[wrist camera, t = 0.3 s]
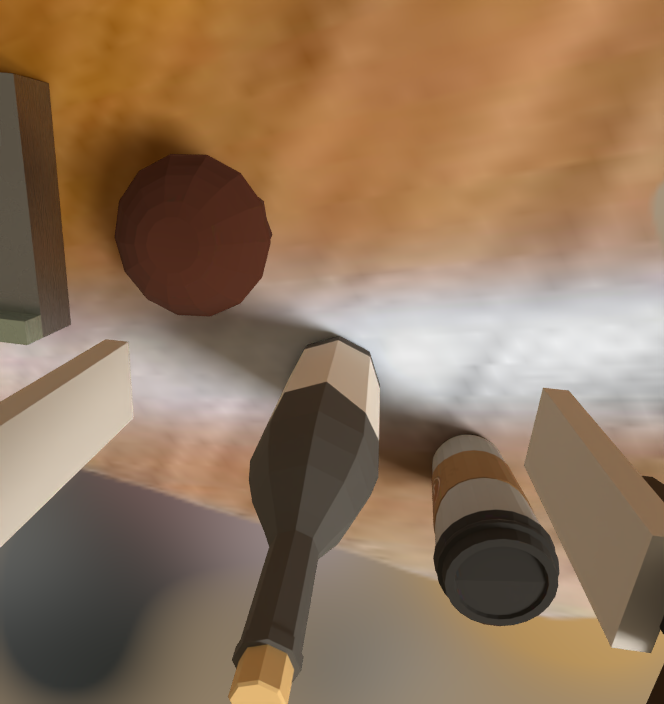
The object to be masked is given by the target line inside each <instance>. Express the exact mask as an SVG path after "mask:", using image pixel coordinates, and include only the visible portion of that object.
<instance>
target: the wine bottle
mask: <svg viewBox="0 0 664 704" xmlns="http://www.w3.org/2000/svg"><path fill="white" fill-rule="evenodd" d="M379 413H380V384H379V381H378V378H377V374H376V371H375V368H374V365H373V361H372V358H371V355H370V352H369V351H367V350H365V349H363V348H361V347H360V346H358V345H356V344H354V343H352V342H350V341H348V340H346V339H344V338H342V337H341V336H338V337H334V338H331V339H327V340H324V341H320V342H316V343H313V344H309V345H307V346H306V347H305V349H304V351H303V353H302V355H301V357H300V359H299V361H298V362H297V364H296V366H295V368H294V370H293V372H292V374H291V376H290V378H289V380H288V382H287V384H286V386H285V388H284V390H283V392H282V394H281V397H280V399H279V401H278V403H277V405H276V407H275V409H274V411H273V413H272V416H271V418H270V420H269V422H268V424H267V426H266V428H265V430H264V433H263V435H262V437H261V439H260V441H259V443H258V445H257V447H256V450H255V452H254V454H253V456H252V458H251V460H250V472H249V484H250V490H251V497H252V503H253V505H254V508H255V510H256V512H257V515H258V517H259V520H260V522H261V525H262V527H263V530H264V532H265V535H266V538H267V541H268V544H269V550H268V553H267V556H266V559H265V563H264V566H263V569H262V573H261V576H260V579H259V582H258V586H257V589H256V592H255V595H254V598H253V601H252V605H251V608H250V611H249V614H248V618H247V621H246V624H245V627H244V631H243V634H242V637H241V640H240V641H239V643H238V644H237V646H236V648H235V652H234V655H233V658H232V661H233V663H234V665H235V667H236V672H235V675H234V679H233V682H232V685H231V689H230V692H229V695H228V698H229V700H230V701H231V703H232V704H288V700H289V694H290V689H291V684H292V682H293V681H294V680H295V678H296V677H297V676H298V674H299V673H300V671H301V668H302V662H303V655H302V647H303V643H304V637H305V631H306V625H307V619H308V614H309V608H310V602H311V596H312V591H313V585H314V579H315V573H316V568H317V562H318V559H319V558H320V557H322V556H323V555H324V554H326V553H327V552H328V551H329V550H331V549H332V548H333V547H335V546H336V545H337V544H338V543H339V542H340V540H341V539H342V537H343V536H344V534H345V533H346V532H347V530H348V529H349V527H350V526H351V524H352V523H353V521H354V520H355V518H356V517H357V515H358V514H359V512H360V511H361V509H362V508H363V506H364V505H365V503H366V502H367V500H368V499H369V497H370V495H371V493H372V491H373V488H374V486H375V484H376V481H377V479H378V463H379Z"/></svg>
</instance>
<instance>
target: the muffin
mask: <svg viewBox="0 0 664 704" xmlns="http://www.w3.org/2000/svg"><path fill="white" fill-rule="evenodd" d="M271 237H272V232H271V229H270V227H269V224H268V221H267V218H266V212H265V206H264V201H263V200H261V199H260V198H259V197H257V195H256V194H255V193H254V191H253V190H252V188H251V187H250V186H249V184H248V183H247V181H246V180H245V179H244V177H243V176H242V174H241V173H239V172H237V171H236V170H234V169H232V168H230V167H228V166H226V165H225V164H223V163H221V162H219V161H217V160H216V159H214V158H212V157H210V156H208V155H184V154H170V155H168V156H166V157H164V158H163V159H161V160H159V161H157V162H155V163H153V164H151V165H149V166H148V167H146V168H144V169H142V170H140V171H139V172H138V173H137V175H136V176H135V178H134V179H133V181H132V182H131V184H130V186H129V187H128V189H127V190H126V192H125V193H124V195H123V196H122V198H121V199H120V201H119V207H118V215H117V223H116V230H115V240H116V243H117V247H118V250H119V253H120V257H121V260H122V264H123V267H124V270H125V272H126V274H127V275H128V276H129V277H130V279H131V280H132V281H133V282H134V283H135V285H136V286H137V287H138V288H139V290H140V291H141V292H142V293H143V295H144V296H145V297H146V298H147V299H148V300H150V301H152V302H154V303H156V304H158V305H160V306H162V307H163V308H165V309H167V310H169V311H171V312H173V313H175V314H177V315H191V316H213V315H215V314H217V313H219V312H222V311H224V310H226V309H229V308H231V307H233V306H235V305H238V304H240V303H241V302H242V301H243V300H244V298H245V297H246V296H247V295H248V294H249V292H250V291H251V290H252V289H253V288H254V286H255V285H256V284H257V283H258V281H259V280H260V279H261V278H262V276H263V271H264V267H265V263H266V259H267V255H268V251H269V247H270V239H271Z"/></svg>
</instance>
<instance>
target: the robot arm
mask: <svg viewBox="0 0 664 704" xmlns="http://www.w3.org/2000/svg"><path fill="white" fill-rule="evenodd" d="M132 419H133V405H132V389H131V374H130V358H129V343H128V342H124V341H115V340H104V341H102V342H100V343H99V344H97V345H95V346H94V347H92V348H90V349H89V350H87V351H85V352H84V353H82V354H80V355H79V356H77V357H75V358H74V359H72V360H70V361H68V362H67V363H65V364H63V365H62V366H60V367H58V368H57V369H55V370H53V371H52V372H50V373H48V374H47V375H45V376H43V377H41V378H40V379H38V380H36V381H35V382H33V383H31V384H30V385H28V386H26V387H25V388H23V389H21V390H20V391H18V392H16V393H15V394H13V395H11V396H9V397H8V398H6V399H4V400H3V401H1V402H0V547H1V546H2V545H3V544H4V543H5V542H6V541H7V540H8V539H9V538H10V537H11V536H12V535H13V534H14V533H15V532H17V530H19V529H20V528H21V527H22V526H23V525H24V524H25V523H26V522H27V521H28V520H29V519H30V518H31V517H32V516H33V515H34V514H35V513H36V512H37V511H38V510H39V509H40V508H41V507H42V506H43V505H44V504H45V503H46V502H47V501H48V500H50V498H52V497H53V496H54V495H55V494H56V493H57V492H58V491H59V490H60V489H61V488H62V487H63V486H64V485H65V484H66V483H67V482H68V481H69V480H70V479H71V478H72V477H73V476H74V475H75V474H76V473H77V472H78V471H79V470H80V469H81V468H82V467H83V466H85V465H86V464H87V463H88V462H89V461H90V460H91V459H92V458H93V457H94V456H95V455H96V454H97V453H98V452H99V451H100V450H101V449H102V448H103V447H104V446H105V445H106V444H107V443H108V442H109V441H110V440H111V439H112V438H113V437H114V436H115V435H116V434H117V433H118V432H120V431H121V430H122V429H123V428H124V427H125V426H126V425H127V424H128V423H129V422H130V421H131V420H132ZM524 466H525V468H526V470H527V472H528V475H529V477H530V479H531V481H532V483H533V485H534V487H535V489H536V491H537V493H538V495H539V497H540V500H541V502H542V504H543V506H544V508H545V510H546V512H547V514H548V516H549V518H550V520H551V523H552V525H553V527H554V529H555V531H556V533H557V535H558V537H559V539H560V541H561V543H562V545H563V548H564V550H565V552H566V554H567V556H568V558H569V560H570V562H571V564H572V566H573V568H574V571H575V573H576V575H577V577H578V579H579V581H580V583H581V585H582V587H583V589H584V591H585V593H586V596H587V598H588V600H589V602H590V604H591V606H592V608H593V610H594V612H595V614H596V616H597V619H598V621H599V622H600V625H601V627H602V629H603V631H604V633H605V635H606V637H607V639H608V641H609V644H610V646H611V647H612V648H619V649H626V650H633V651H640V652H647V653H651V652H652V649H653V647H654V645H655V642H656V639H657V637H658V635H659V632H660V630H661V631H662V632H663V634H664V484H662V483H661V482H659V481H658V480H656V479H655V478H653V477H648V476H641V475H640V474H639V473H638V471H637V470H636V469H635V468H634V467H633V466H632V464H631V463H630V462H629V461H628V460H627V458H626V457H625V456H624V455H623V454H622V453H621V451H620V450H619V449H618V448H617V447H616V446H615V444H614V443H613V442H612V441H611V440H610V438H609V437H608V436H607V435H606V434H605V433H604V431H603V430H602V429H601V428H600V427H599V426H598V424H597V423H596V422H595V421H594V420H593V419H592V417H591V416H590V415H589V414H588V413H587V411H586V410H585V409H584V408H583V407H582V406H581V404H580V403H579V402H578V401H577V400H576V399H575V397H574V396H573V395H572V394H571V393H570V391H568V390H559V389H549V388H543V390H542V394H541V398H540V403H539V407H538V411H537V415H536V419H535V423H534V427H533V431H532V435H531V439H530V443H529V447H528V451H527V455H526V459H525V463H524ZM646 704H664V665H663V667H662V670H661V672H660V674H659V676H658V678H657V681H656V683H655V685H654V688H653V690H652V692H651V694H650V697H649V699H648V701H647V703H646Z"/></svg>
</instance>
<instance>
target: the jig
mask: <svg viewBox="0 0 664 704" xmlns="http://www.w3.org/2000/svg"><path fill="white" fill-rule="evenodd" d="M69 325H71V321H70V310H69V300H68V289H67V278H66V267H65V256H64V245H63V234H62V224H61V213H60V202H59V191H58V180H57V169H56V158H55V148H54V137H53V126H52V115H51V104H50V93H49V83H45V82H42V81H38V80H35V79H31V78H27V77H24V76H20V75H16V74H12V73H0V342H6V343H14V344H23V345H29V344H31V343H33V342H35V341H37V340H39V339H41V338H43V337H46V336H48V335H50V334H52V333H54V332H56V331H58V330H60V329H62V328H65V327H67V326H69Z"/></svg>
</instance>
